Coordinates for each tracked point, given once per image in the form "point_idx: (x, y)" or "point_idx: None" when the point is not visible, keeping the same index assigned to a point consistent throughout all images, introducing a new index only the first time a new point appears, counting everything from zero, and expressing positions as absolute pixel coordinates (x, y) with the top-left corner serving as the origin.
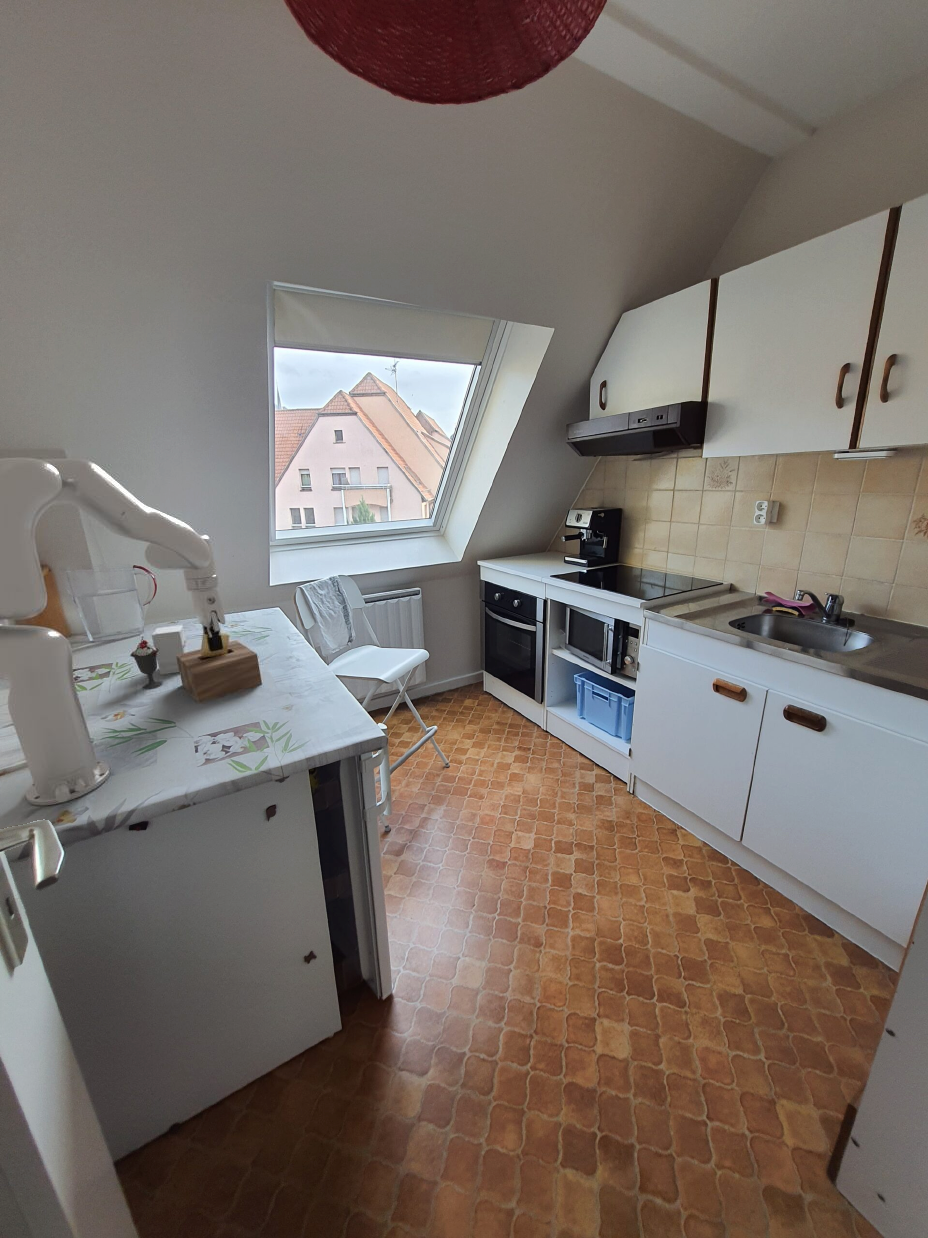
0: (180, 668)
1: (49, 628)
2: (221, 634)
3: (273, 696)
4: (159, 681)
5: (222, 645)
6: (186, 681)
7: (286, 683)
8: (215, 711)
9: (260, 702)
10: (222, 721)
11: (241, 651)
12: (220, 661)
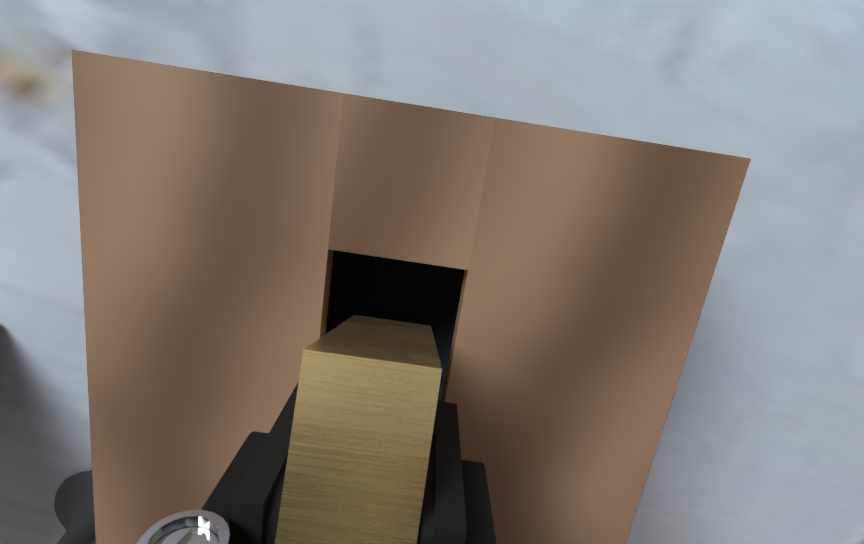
0: None
1: None
2: (386, 477)
3: (833, 209)
4: (79, 480)
5: (458, 426)
6: None
7: (759, 42)
8: (687, 464)
9: (822, 293)
10: (809, 489)
11: (523, 222)
12: (594, 464)
